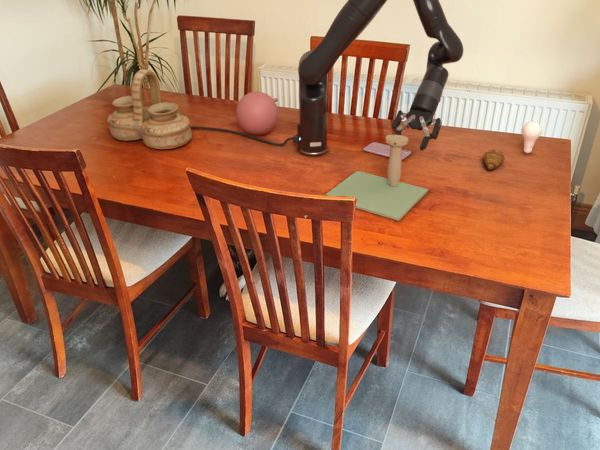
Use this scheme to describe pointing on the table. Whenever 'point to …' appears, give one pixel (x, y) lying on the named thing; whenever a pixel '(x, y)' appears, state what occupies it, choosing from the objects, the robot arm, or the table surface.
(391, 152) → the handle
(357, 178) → the mat
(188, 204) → the table surface
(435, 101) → the robot arm
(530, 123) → the lightbulb
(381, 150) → the mobile phone
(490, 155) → the croissant
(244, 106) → the balloon
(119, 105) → the ceramic vessel
